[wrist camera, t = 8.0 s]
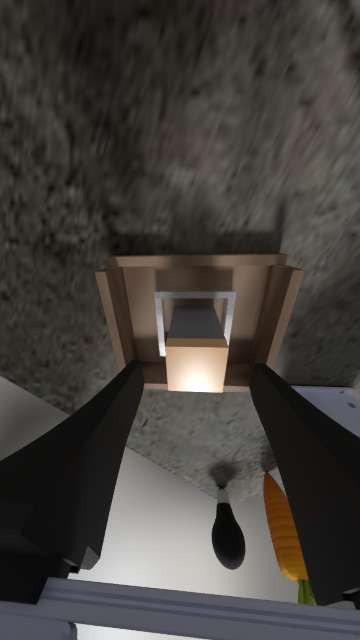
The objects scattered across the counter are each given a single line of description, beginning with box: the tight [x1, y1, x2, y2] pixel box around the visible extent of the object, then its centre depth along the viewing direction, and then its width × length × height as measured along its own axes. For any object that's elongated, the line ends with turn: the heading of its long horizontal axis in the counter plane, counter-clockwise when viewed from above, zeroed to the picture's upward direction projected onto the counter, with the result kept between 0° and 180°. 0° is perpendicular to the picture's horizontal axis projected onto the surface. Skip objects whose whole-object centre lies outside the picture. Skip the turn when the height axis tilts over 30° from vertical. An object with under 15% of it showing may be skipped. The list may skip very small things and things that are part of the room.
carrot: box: [264, 472, 317, 605], centre depth 25 cm, size 5×5×15 cm
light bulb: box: [212, 487, 245, 570], centre depth 31 cm, size 6×6×10 cm
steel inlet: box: [154, 287, 236, 356], centre depth 17 cm, size 7×7×2 cm
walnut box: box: [95, 253, 305, 392], centre depth 16 cm, size 15×13×4 cm
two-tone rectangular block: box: [165, 306, 229, 392], centre depth 14 cm, size 4×4×7 cm
